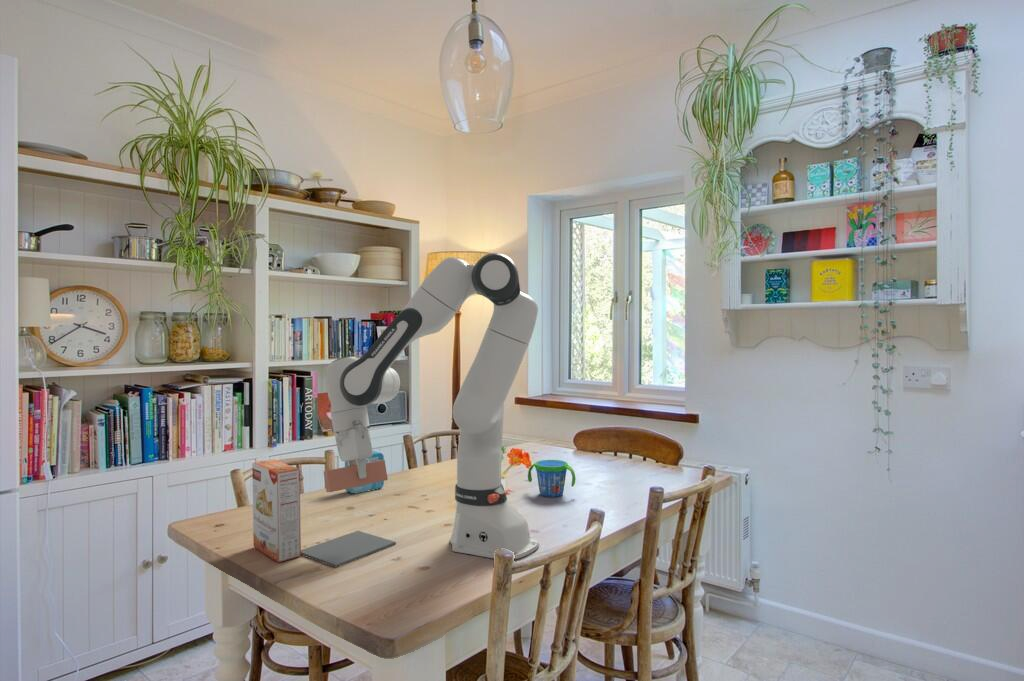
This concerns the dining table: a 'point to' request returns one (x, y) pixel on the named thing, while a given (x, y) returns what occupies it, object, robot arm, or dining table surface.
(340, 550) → the mat
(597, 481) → the dining table surface
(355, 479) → the block
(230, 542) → the dining table surface
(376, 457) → the data package
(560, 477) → the snack cup
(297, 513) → the cracker box
